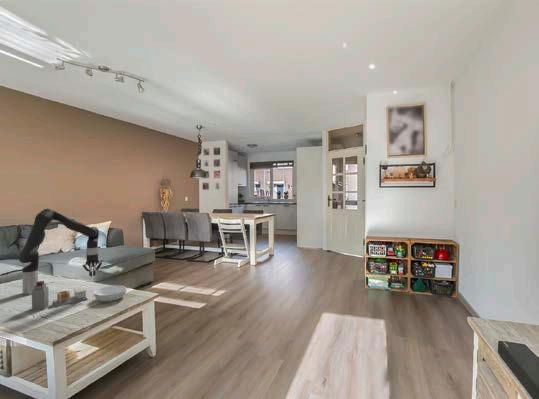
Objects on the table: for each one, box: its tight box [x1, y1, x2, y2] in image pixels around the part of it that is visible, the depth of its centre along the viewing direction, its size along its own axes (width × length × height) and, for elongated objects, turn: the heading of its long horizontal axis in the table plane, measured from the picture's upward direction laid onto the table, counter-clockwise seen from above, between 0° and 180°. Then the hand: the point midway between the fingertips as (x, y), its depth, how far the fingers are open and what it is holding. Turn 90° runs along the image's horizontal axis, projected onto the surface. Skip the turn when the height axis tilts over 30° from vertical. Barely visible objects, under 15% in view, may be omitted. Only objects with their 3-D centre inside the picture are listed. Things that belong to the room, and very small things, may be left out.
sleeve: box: [56, 289, 71, 303], centre depth 196 cm, size 6×6×6 cm
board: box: [52, 295, 88, 308], centre depth 199 cm, size 12×18×6 cm, turn 138°
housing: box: [73, 287, 87, 299], centre depth 203 cm, size 9×6×5 cm, turn 48°
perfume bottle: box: [31, 280, 49, 312], centre depth 186 cm, size 7×7×18 cm
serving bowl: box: [93, 285, 128, 302], centre depth 203 cm, size 21×21×7 cm
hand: (92, 276), depth 209 cm, fingers closed
